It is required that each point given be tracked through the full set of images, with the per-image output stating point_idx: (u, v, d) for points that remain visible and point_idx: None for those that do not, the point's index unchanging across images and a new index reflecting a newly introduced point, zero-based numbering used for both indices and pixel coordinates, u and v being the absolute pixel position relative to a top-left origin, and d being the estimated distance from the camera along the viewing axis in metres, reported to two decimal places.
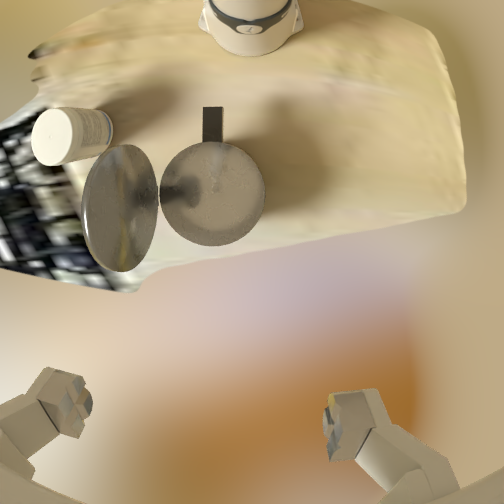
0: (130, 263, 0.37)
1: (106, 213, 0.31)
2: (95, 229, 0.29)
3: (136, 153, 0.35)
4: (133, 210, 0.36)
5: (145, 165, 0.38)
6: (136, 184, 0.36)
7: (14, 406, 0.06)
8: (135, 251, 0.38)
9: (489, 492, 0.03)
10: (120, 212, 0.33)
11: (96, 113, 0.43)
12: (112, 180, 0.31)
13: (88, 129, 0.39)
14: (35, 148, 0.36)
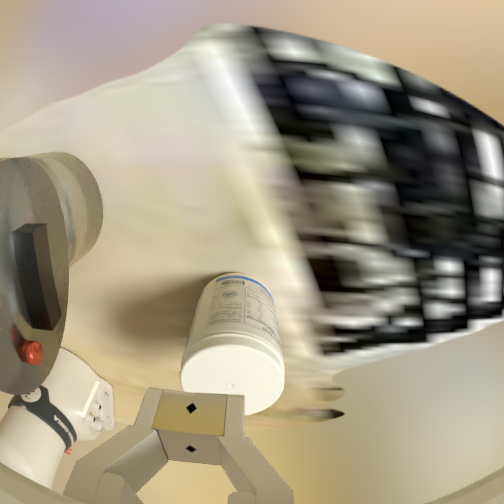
0: None
1: None
2: None
3: None
4: None
5: None
6: None
7: (126, 442, 0.06)
8: None
9: (489, 492, 0.03)
10: None
11: None
12: None
13: None
14: (273, 377, 0.24)
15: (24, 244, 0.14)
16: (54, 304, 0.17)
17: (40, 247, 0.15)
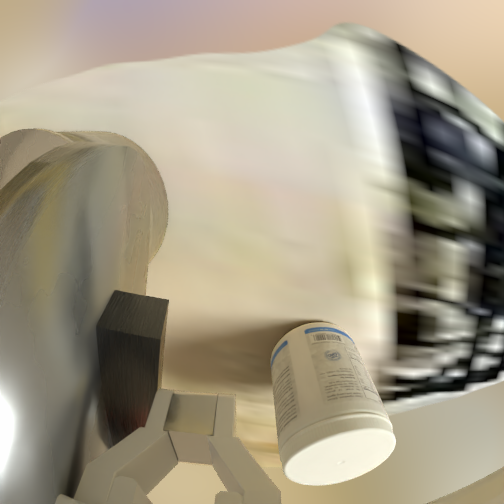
0: None
1: None
2: None
3: None
4: None
5: None
6: None
7: (137, 444, 0.06)
8: None
9: (489, 492, 0.03)
10: None
11: None
12: None
13: (278, 420, 0.22)
14: (385, 451, 0.18)
15: (130, 354, 0.07)
16: None
17: (161, 353, 0.08)
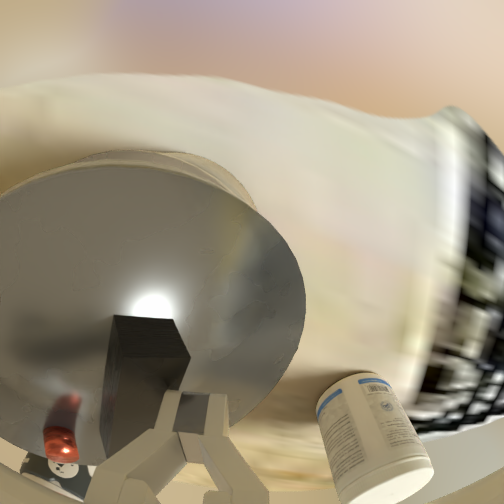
0: None
1: None
2: None
3: None
4: None
5: None
6: None
7: (147, 446, 0.06)
8: None
9: (489, 492, 0.03)
10: None
11: None
12: None
13: (339, 462, 0.22)
14: (422, 484, 0.18)
15: (114, 354, 0.08)
16: None
17: (143, 385, 0.08)
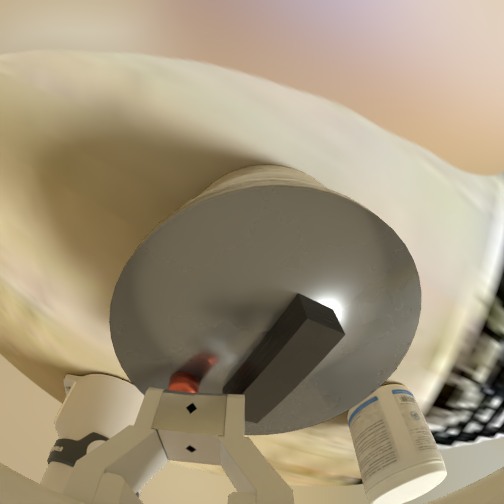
0: None
1: None
2: None
3: None
4: None
5: None
6: None
7: (126, 442, 0.06)
8: None
9: (489, 492, 0.03)
10: None
11: (353, 442, 0.30)
12: None
13: (372, 461, 0.24)
14: (434, 485, 0.21)
15: (292, 319, 0.12)
16: (259, 407, 0.13)
17: (305, 345, 0.12)
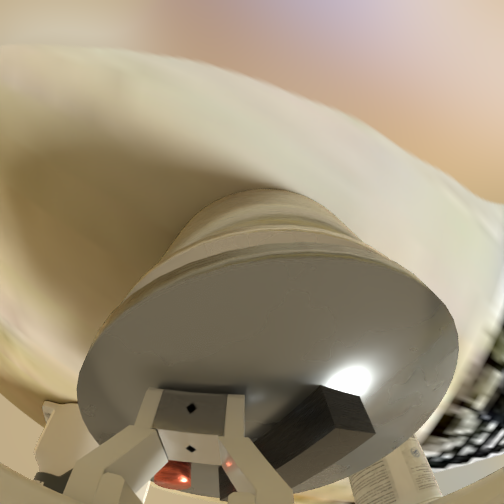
0: None
1: None
2: None
3: None
4: None
5: None
6: None
7: (126, 442, 0.06)
8: None
9: (489, 492, 0.03)
10: None
11: (349, 477, 0.26)
12: None
13: (370, 500, 0.20)
14: None
15: (312, 420, 0.08)
16: None
17: (327, 449, 0.08)
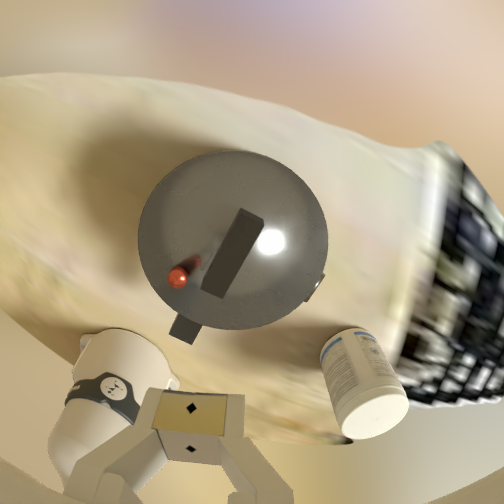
0: None
1: None
2: None
3: None
4: None
5: None
6: None
7: (126, 442, 0.06)
8: None
9: (489, 492, 0.03)
10: None
11: (325, 379, 0.40)
12: None
13: (338, 388, 0.34)
14: (400, 416, 0.31)
15: (235, 219, 0.23)
16: (221, 282, 0.24)
17: (242, 231, 0.22)
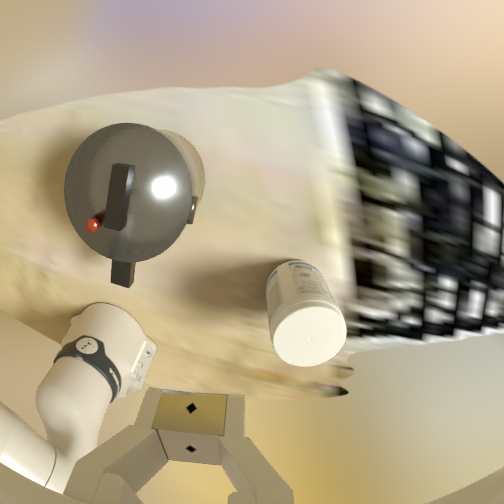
0: None
1: None
2: None
3: None
4: None
5: None
6: None
7: (125, 442, 0.06)
8: None
9: (489, 492, 0.03)
10: None
11: None
12: None
13: (269, 313, 0.39)
14: (340, 335, 0.35)
15: None
16: (115, 218, 0.30)
17: (116, 176, 0.28)
